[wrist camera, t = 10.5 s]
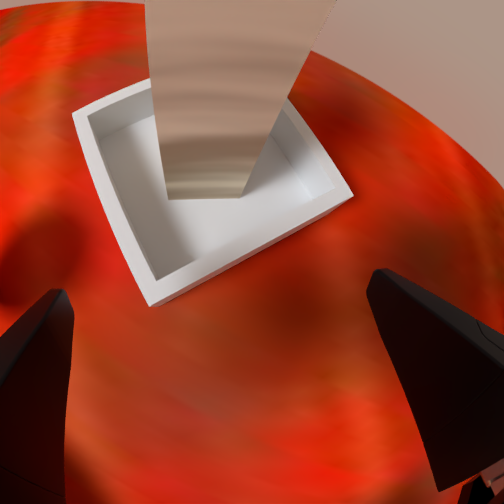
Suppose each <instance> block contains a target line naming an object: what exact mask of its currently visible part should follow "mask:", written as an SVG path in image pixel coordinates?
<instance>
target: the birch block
mask: <svg viewBox="0 0 504 504" xmlns="http://www.w3.org/2000/svg"><path fill="white" fill-rule="evenodd" d="M336 1H337V0H145V20H146V36H147V50H148V61H149V72H150V82H151V91H152V99H153V107H154V115H155V123H156V130H157V137H158V143H159V150H160V156H161V162H162V168H163V174H164V180H165V185H166V191H167V196H168V200H188V199H233V198H240V196H241V194H242V192H243V190H244V188H245V185H246V183H247V181H248V179H249V177H250V174H251V172H252V170H253V168H254V166H255V163H256V161H257V159H258V157H259V155H260V153H261V151H262V148H263V146H264V144H265V142H266V140H267V138H268V136H269V134H270V131H271V129H272V127H273V125H274V123H275V121H276V119H277V117H278V115H279V113H280V111H281V108H282V106H283V104H284V102H285V100H286V98H287V96H288V94H289V92H290V90H291V88H292V86H293V84H294V82H295V80H296V78H297V76H298V74H299V72H300V70H301V68H302V66H303V64H304V62H305V60H306V58H307V56H308V54H309V52H310V50H311V48H312V46H313V44H314V43H315V41H316V39H317V37H318V35H319V33H320V31H321V29H322V27H323V25H324V24H325V22H326V20H327V18H328V16H329V14H330V12H331V10H332V9H333V7H334V5H335V3H336Z"/></svg>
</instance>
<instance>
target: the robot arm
mask: <svg viewBox="0 0 504 504" xmlns="http://www.w3.org/2000/svg"><path fill="white" fill-rule="evenodd" d="M366 295H367V299H368V301H369V304H370V307H371V310H372V313H373V315H374V318H375V321H376V324H377V327H378V330H379V333H380V335H381V338H382V340H383V343H384V345H385V347H386V349H387V352H388V354H389V356H390V359H391V361H392V363H393V366H394V368H395V370H396V373H397V375H398V378H399V380H400V383H401V385H402V387H403V390H404V393H405V395H406V398H407V400H408V403H409V405H410V408H411V411H412V413H413V416H414V419H415V421H416V424H417V427H418V430H419V433H420V435H421V438H422V441H423V445H424V448H425V451H426V454H427V457H428V460H429V463H430V466H431V470H432V473H433V476H434V480H435V483H436V487H437V490H438V492H441V491H443V490H445V489H447V488H450V487H452V486H454V485H456V484H458V483H460V482H462V481H464V480H466V479H468V478H470V477H472V476H474V475H475V476H474V477H473V478H472V479H471V480H469V481H468V482H467V483H466V484H464V485H463V486H462V490H461V494H460V497H459V500H458V504H504V335H502V334H501V333H499V332H497V331H495V330H494V329H492V328H490V327H489V326H487V325H485V324H484V323H482V322H480V321H479V320H477V319H475V318H474V317H472V316H470V315H469V314H467V313H465V312H464V311H462V310H460V309H459V308H457V307H455V306H453V305H452V304H450V303H448V302H447V301H445V300H443V299H441V298H440V297H438V296H436V295H434V294H433V293H431V292H429V291H427V290H426V289H424V288H422V287H420V286H419V285H417V284H415V283H413V282H411V281H410V280H408V279H406V278H404V277H402V276H400V275H399V274H397V273H395V272H393V271H391V270H389V269H387V268H381V269H376V270H375V271H374V272H373V274H372V277H371V279H370V282H369V285H368V287H367V291H366ZM73 328H74V311H73V308H72V306H71V303H70V301H69V298H68V296H67V293H66V291H65V290H64V289H62V288H60V289H50V290H49V291H48V292H47V293H46V294H45V295H43V296H42V297H41V298H40V299H39V300H38V301H37V302H36V303H35V304H34V305H33V306H31V307H30V308H29V309H28V310H27V311H26V312H25V313H24V314H23V315H22V316H21V317H20V318H19V319H18V320H17V321H16V322H15V323H14V324H13V325H12V326H11V327H10V328H9V329H8V330H7V331H6V332H5V333H4V334H3V335H2V336H1V337H0V504H66V498H65V481H64V436H65V417H66V405H67V395H68V386H69V378H70V370H71V357H72V340H73ZM476 474H477V475H476Z"/></svg>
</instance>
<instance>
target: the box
mask: <svg viewBox="0 0 504 504" xmlns="http://www.w3.org/2000/svg"><path fill="white" fill-rule="evenodd" d="M72 116H73V119H74V123H75V126H76V130H77V133H78V137H79V140H80V143H81V146H82V149H83V153H84V156H85V159H86V162H87V165H88V168H89V170H90V173H91V176H92V179H93V182H94V184H95V187H96V190H97V192H98V195H99V198H100V200H101V203H102V205H103V208H104V210H105V213H106V215H107V218H108V220H109V223H110V225H111V227H112V230H113V232H114V234H115V237H116V239H117V241H118V244H119V246H120V248H121V250H122V252H123V255H124V257H125V259H126V261H127V263H128V265H129V267H130V270H131V272H132V274H133V276H134V278H135V280H136V282H137V284H138V286H139V288H140V290H141V292H142V294H143V296H144V298H145V300H146V302H147V303H148V305H149V306H150V307H159V306H161V305H163V304H165V303H166V302H168V301H170V300H172V299H174V298H176V297H178V296H179V295H181V294H183V293H185V292H187V291H189V290H190V289H192V288H194V287H196V286H198V285H200V284H201V283H203V282H205V281H207V280H209V279H211V278H212V277H214V276H216V275H218V274H220V273H222V272H223V271H225V270H227V269H229V268H231V267H233V266H234V265H236V264H238V263H240V262H242V261H244V260H245V259H247V258H249V257H251V256H253V255H255V254H256V253H258V252H260V251H262V250H264V249H266V248H267V247H269V246H271V245H273V244H275V243H276V242H278V241H280V240H282V239H284V238H286V237H287V236H289V235H291V234H293V233H295V232H297V231H298V230H300V229H302V228H304V227H306V226H307V225H309V224H311V223H313V222H315V221H317V220H318V219H320V218H322V217H324V216H326V215H327V214H329V213H330V212H332V211H333V210H334V209H336V208H337V207H339V206H340V205H341V204H343V203H344V202H346V201H347V200H348V199H350V198H351V197H353V196H354V195H353V193H352V191H351V190H350V188H349V187H348V185H347V183H346V182H345V180H344V178H343V177H342V175H341V174H340V172H339V171H338V169H337V167H336V166H335V164H334V163H333V161H332V160H331V158H330V157H329V155H328V154H327V152H326V151H325V149H324V148H323V146H322V145H321V143H320V142H319V140H318V139H317V138H316V136H315V135H314V133H313V132H312V130H311V129H310V128H309V126H308V125H307V124H306V122H305V121H304V119H303V118H302V117H301V115H300V114H299V113H298V111H297V110H296V109H295V107H294V106H293V105H292V103H291V102H290V101H289V99H288V98H286V100H285V102H284V104H283V106H282V108H281V111H280V113H279V115H278V117H277V119H276V121H275V123H274V125H273V127H272V129H271V131H270V134H269V136H268V138H267V140H266V142H265V144H264V146H263V148H262V151H261V153H260V155H259V157H258V159H257V161H256V163H255V166H254V168H253V170H252V172H251V174H250V177H249V179H248V181H247V183H246V185H245V188H244V190H243V192H242V194H241V196H240V198H233V199H188V200H168V196H167V191H166V185H165V180H164V174H163V168H162V162H161V156H160V150H159V143H158V137H157V130H156V123H155V115H154V107H153V99H152V91H151V82H150V78H149V79H146V80H144V81H141V82H139V83H136V84H134V85H131V86H129V87H126V88H124V89H122V90H119V91H117V92H115V93H112V94H110V95H108V96H106V97H104V98H101V99H99V100H97V101H95V102H93V103H91V104H89V105H87V106H85V107H83V108H81V109H79V110H77V111H75V112H73V113H72Z"/></svg>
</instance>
